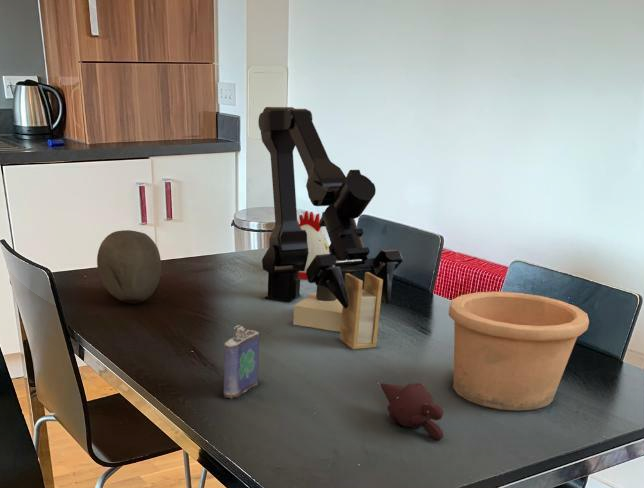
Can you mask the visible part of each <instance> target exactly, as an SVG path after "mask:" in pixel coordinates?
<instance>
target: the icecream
mask: <svg viewBox="0 0 644 488" xmlns="http://www.w3.org/2000/svg"><path fill="white" fill-rule="evenodd" d="M379 387H380V388H381V390H382V392H383V393H384V396H385V397H386V399H387V401H388V405H387V409H386V410H387V411H388V418H390V419H391V420H392V421H393V423H394V424H396V425H401V426H402V427H407V428H411V429H418V428H421V427H423V428H424V430H425V432H427V434H428V435H429V436H430V437H431V438H433V439H434V440H435V441H441V440H442V439H443V438H444V431H443V429H442V428H441V426H440V425H439V424H437V423H436V422H435V421H439V420H442V419H443V416H444V414H445V412H444V409H443V408H442V405H440V404H438V403H435V401H434V399H433V396H432V394H431V392H430V391H429V390H428V389H427V387H425V386H424V385H423V383H420V382H416V383H408V384H406V385H399V384H393V383H386V382H381V383H380V386H379ZM433 420H434V421H433Z"/></svg>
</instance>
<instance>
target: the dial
mask: <svg viewBox="0 0 644 488" xmlns="http://www.w3.org/2000/svg"><path fill="white" fill-rule="evenodd" d="M315 292H316V298H317V299H319V300H323V301H333V300H336V299H337V298H336V297H335V296H334V295H333V294H332V292H331V291H330V290H329V289H328V288H326V287H324V286H317V285H316V291H315Z"/></svg>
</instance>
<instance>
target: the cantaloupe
mask: <svg viewBox="0 0 644 488" xmlns="http://www.w3.org/2000/svg"><path fill="white" fill-rule="evenodd" d="M96 267H97V273H98V276H99V279H100V281H101V282H102V284H103V287H104V288H105V289H106V290H107V291H108V293H109V294H110V295H112V296H113V297H114V298H116V299H117V300H118V301H121V302H123V303H126V304H132V305H133V304H134V305H135V304H140V303H143V302H145V301H146V300H147V299H149V298H150V297H151V296H152V295H153V294H154V292H155V290H156V289H157V287H158V286H159V282H160V279H161V275H162V258H161V255H160V251H159V248H158V246H157V244H156V243H155V241H154V239H152V238H151V236H149V235H148V234H146V233H144V232H142V231H141V232H140V231H137V230H129V229H127V230H125V229H124V230H123V229H122V230H116V231H113V232H111V233H109V234H108V235H107V236H106V237H105V238H104V239H103V240H102V242H101V243H100V245H99V248H98V251H97V255H96Z"/></svg>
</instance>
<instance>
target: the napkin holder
mask: <svg viewBox="0 0 644 488" xmlns="http://www.w3.org/2000/svg"><path fill="white" fill-rule="evenodd" d="M344 285H345V289H346V293H347V297H348V304H349V306H348V307H347V308H344V307H343V308H342V321H341V332H339V334H340V335H339V341H341V342H342V343H344V344H345V345H346V346H348V347H349V348H350V349H352V350H361V349H371V348H377V342H378V331H379V322H380V312H381V305H382V285H383V280H382V279H381V278H379V277H377V276H375V275H373V274H372V273H371V272H369V271H366V272H364V281H363V280H362V279H360V278H358V277H356V276H354V274H353V275H351V274H349V273H346V274H345V283H344Z"/></svg>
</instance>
